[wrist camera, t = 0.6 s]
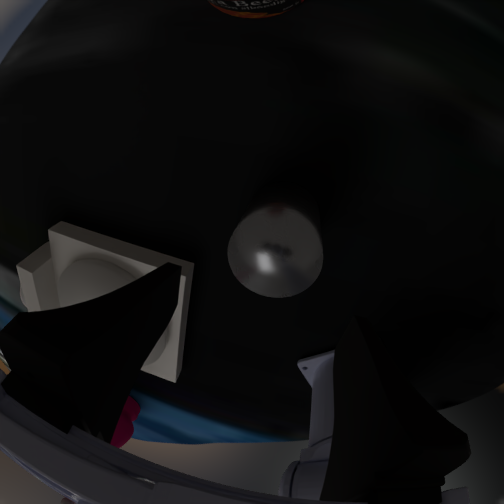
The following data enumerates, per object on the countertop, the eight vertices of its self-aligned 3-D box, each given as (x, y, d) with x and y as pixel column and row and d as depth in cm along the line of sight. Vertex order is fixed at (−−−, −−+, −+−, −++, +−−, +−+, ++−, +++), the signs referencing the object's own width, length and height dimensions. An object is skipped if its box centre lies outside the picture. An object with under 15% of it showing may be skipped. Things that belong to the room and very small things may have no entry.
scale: (194, 263, 24) (169, 302, 20) (181, 369, 31) (164, 406, 26) (42, 214, 25) (6, 237, 20) (59, 317, 32) (35, 344, 27)
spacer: (331, 233, 21) (337, 279, 16) (268, 258, 23) (255, 308, 18) (300, 169, 19) (297, 196, 14) (235, 200, 21) (210, 236, 16)
